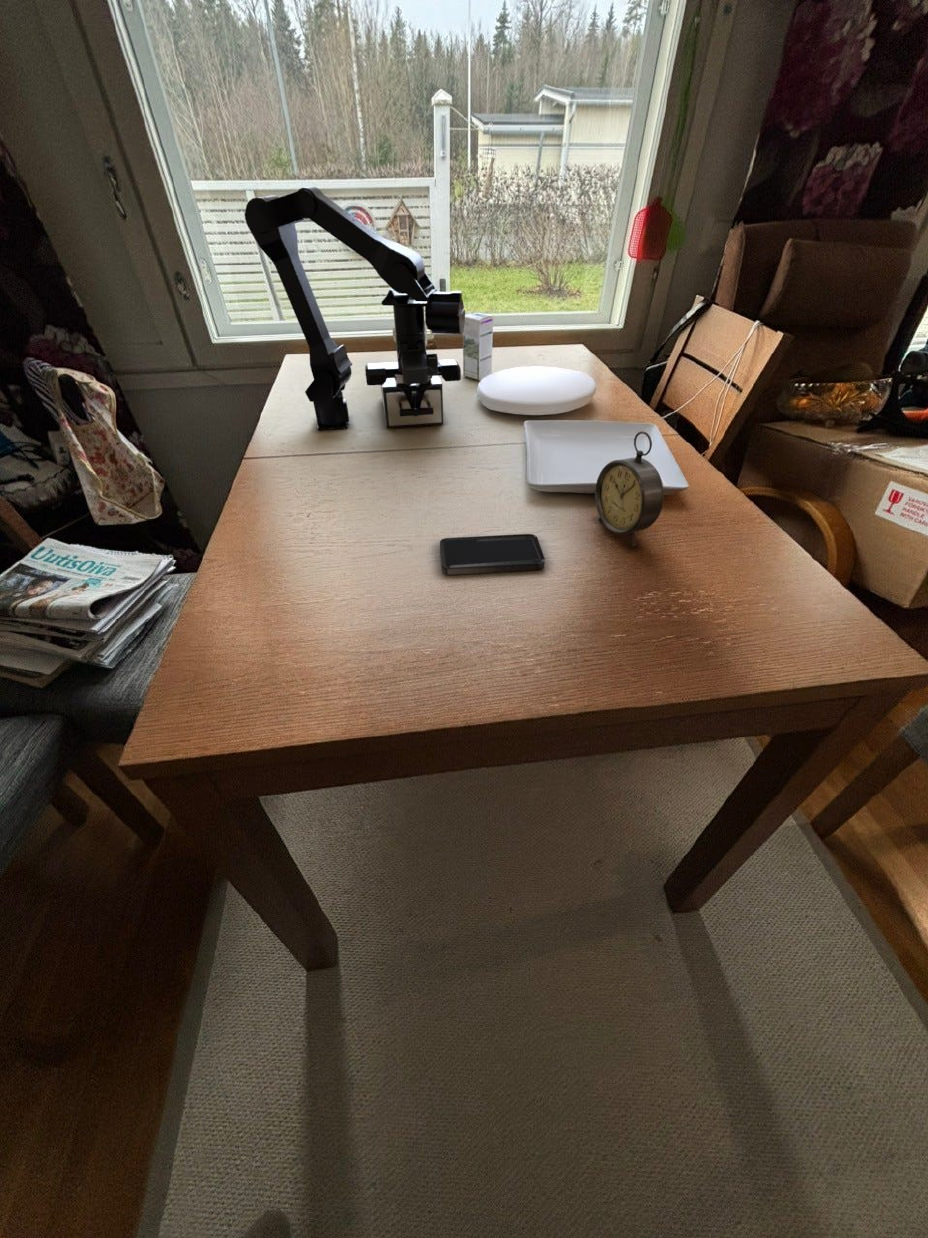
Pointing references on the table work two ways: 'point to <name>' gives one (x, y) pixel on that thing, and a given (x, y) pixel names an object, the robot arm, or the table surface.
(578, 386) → the white rounded disc
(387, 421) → the cabinet
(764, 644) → the table surface
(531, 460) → the square plate
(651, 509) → the alarm clock
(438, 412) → the drawer
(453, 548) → the phone
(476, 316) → the syrup box
